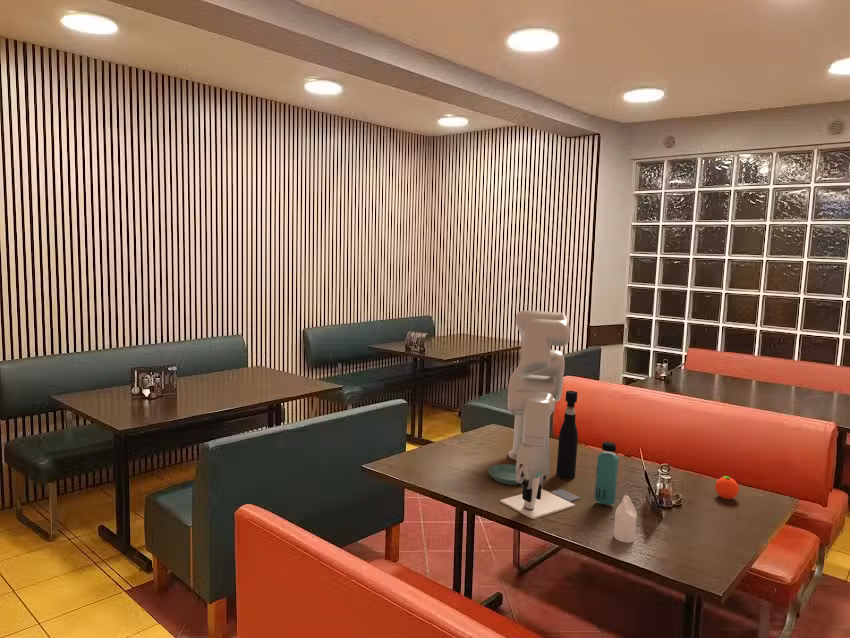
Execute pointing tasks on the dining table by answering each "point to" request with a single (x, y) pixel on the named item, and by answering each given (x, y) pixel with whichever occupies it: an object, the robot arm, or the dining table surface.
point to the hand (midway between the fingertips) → (531, 498)
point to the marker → (533, 492)
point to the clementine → (726, 487)
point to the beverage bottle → (606, 475)
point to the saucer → (504, 474)
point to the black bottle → (568, 440)
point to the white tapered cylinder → (625, 521)
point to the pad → (539, 504)
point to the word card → (565, 495)
